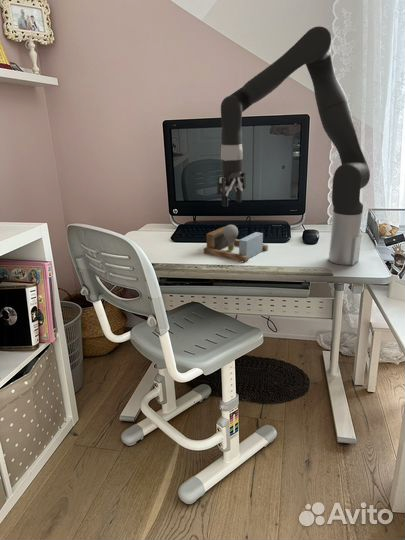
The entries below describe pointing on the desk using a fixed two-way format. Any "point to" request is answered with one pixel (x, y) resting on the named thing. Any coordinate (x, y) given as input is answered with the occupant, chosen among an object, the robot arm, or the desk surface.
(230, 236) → the light bulb
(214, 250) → the vise frame
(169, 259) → the desk surface
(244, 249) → the slide jaw
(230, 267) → the desk surface
